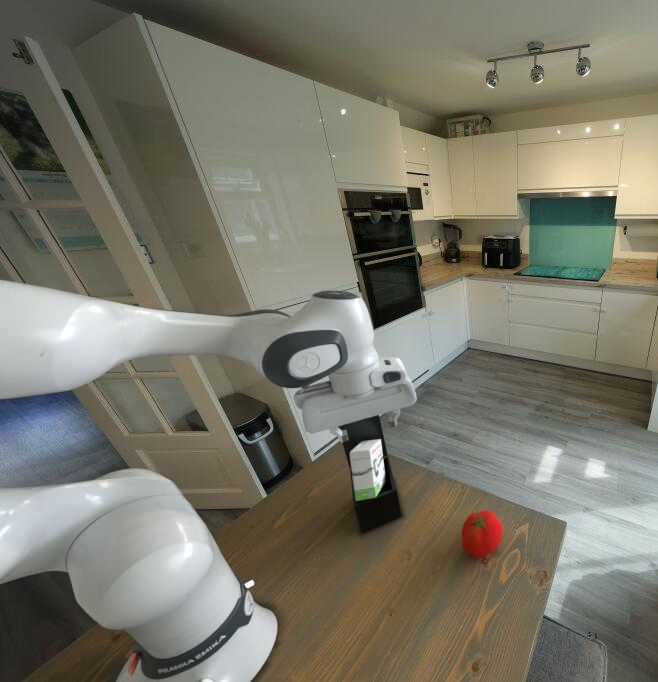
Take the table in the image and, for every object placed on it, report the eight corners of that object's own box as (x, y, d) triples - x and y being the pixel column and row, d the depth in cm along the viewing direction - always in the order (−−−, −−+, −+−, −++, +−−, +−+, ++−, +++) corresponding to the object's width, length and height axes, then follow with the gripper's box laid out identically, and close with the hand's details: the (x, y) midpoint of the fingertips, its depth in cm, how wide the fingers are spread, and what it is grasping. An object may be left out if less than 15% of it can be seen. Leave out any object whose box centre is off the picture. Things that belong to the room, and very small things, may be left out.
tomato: (508, 532, 77) (508, 509, 73) (490, 574, 68) (489, 550, 65) (474, 519, 80) (473, 496, 77) (454, 558, 71) (451, 534, 68)
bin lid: (379, 415, 81) (376, 406, 85) (337, 427, 77) (337, 416, 81) (387, 455, 86) (385, 445, 90) (349, 469, 82) (348, 457, 86)
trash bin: (402, 516, 81) (396, 489, 76) (362, 534, 76) (353, 506, 72) (393, 481, 91) (387, 456, 86) (357, 495, 86) (349, 469, 82)
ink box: (376, 498, 73) (370, 449, 73) (354, 501, 73) (348, 452, 73) (386, 481, 82) (381, 437, 82) (367, 484, 81) (361, 440, 81)
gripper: (289, 398, 51) (311, 461, 57) (414, 369, 60) (422, 425, 66) (292, 381, 56) (312, 440, 62) (407, 356, 65) (415, 409, 71)
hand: (369, 432), depth 64 cm, fingers open, 8 cm apart
